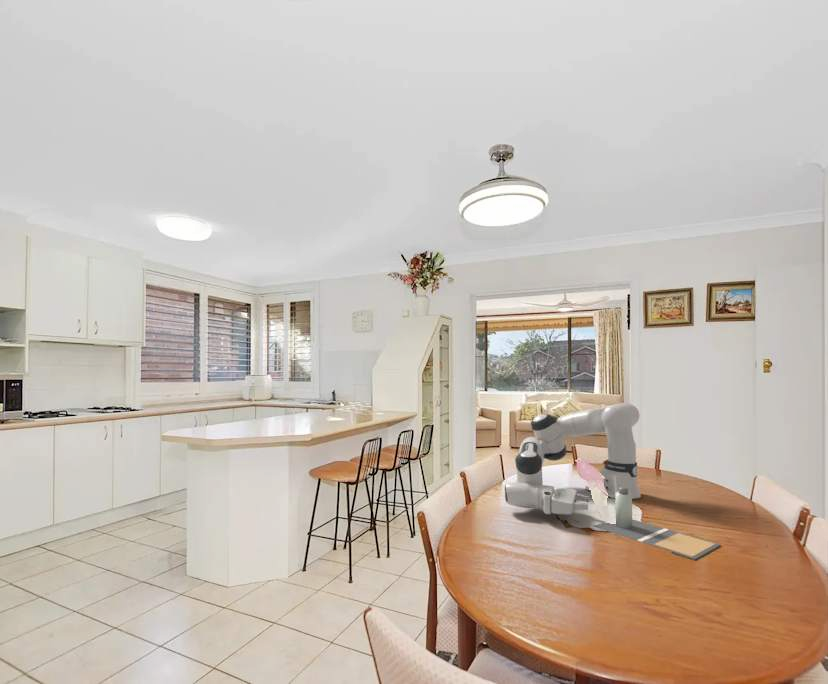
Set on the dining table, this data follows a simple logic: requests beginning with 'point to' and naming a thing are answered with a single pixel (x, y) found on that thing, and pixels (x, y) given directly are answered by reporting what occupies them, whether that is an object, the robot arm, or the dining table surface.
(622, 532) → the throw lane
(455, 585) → the dining table surface
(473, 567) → the dining table surface
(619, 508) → the bottle
